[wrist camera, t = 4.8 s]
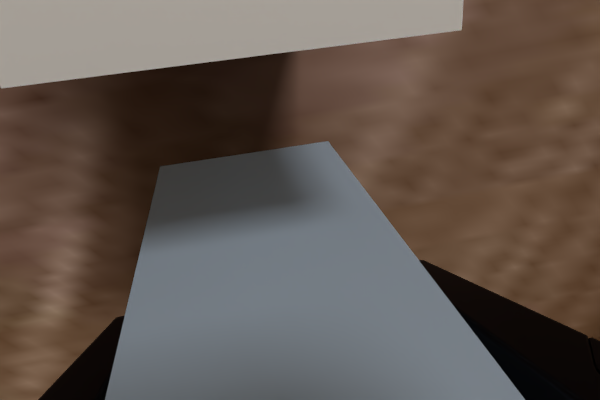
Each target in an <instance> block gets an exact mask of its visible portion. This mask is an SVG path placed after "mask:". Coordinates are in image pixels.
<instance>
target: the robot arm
mask: <svg viewBox="0 0 600 400" xmlns="http://www.w3.org/2000/svg"><path fill="white" fill-rule="evenodd" d="M419 261H420V263H421V264H422V265H423V266H424V268H425V269H426V270H427V272H428V273H429V274H430V276H431V277H432V278H433V280H434V281H435V282H436V283H437V285H438V286H439V287H440V289H441V290H442V291H443V293H444V294H445V295H446V297H447V298H448V299H449V301H450V302H451V303H452V304H453V306H454V307H455V308H456V310H457V311H458V312H459V314H460V315H461V316H462V318H463V319H464V320H465V321H466V323H467V324H468V325H469V327H470V328H471V329H472V331H473V332H474V333H475V335H476V336H477V337H478V339H479V340H480V341H481V342H482V344H483V345H484V346H485V348H486V349H487V350H488V352H489V353H490V354H491V356H492V357H493V358H494V359H495V361H496V362H497V363H498V365H499V366H500V367H501V369H502V370H503V371H504V373H505V374H506V375H507V377H508V378H509V379H510V380H511V382H512V383H513V384H514V386H515V387H516V388H517V390H518V391H519V392H520V394H521V395H522V396H523V397H524V399H525V400H600V341H598V340H596V339H594V338H589V339H588V337H587V335H585V334H583V333H581V332H578V331H576V330H574V329H572V328H570V327H568V326H565V325H563V324H561V323H559V322H557V321H554V320H552V319H550V318H548V317H546V316H544V315H541V314H539V313H537V312H535V311H533V310H531V309H528V308H526V307H524V306H522V305H520V304H518V303H515V302H513V301H511V300H509V299H507V298H504V297H502V296H500V295H498V294H496V293H494V292H491V291H489V290H487V289H485V288H483V287H481V286H478V285H476V284H474V283H472V282H470V281H468V280H465V279H463V278H461V277H459V276H457V275H454V274H452V273H450V272H448V271H446V270H444V269H441V268H439V267H437V266H435V265H433V264H431V263H428V262H426V261H424V260H419ZM124 317H125V316H120V317H117V318H116V319H114V320H113V321H112V322H111V324H110V325H109V326H108V327H107V328H106V329H105V330H104V331H103V332H102V333H101V334H100V335H99V336H98V337H97V338H96V339H95V340H94V341H93V343H92V344H91V345H90V346H89V347H88V348H87V349H86V350H85V351H84V352H83V353H82V354H81V355H80V356H79V357H78V358H77V359H76V360H75V361H74V363H73V364H72V365H71V366H70V367H69V368H68V369H67V370H66V371H65V372H64V373H63V374H62V375H61V376H60V377H59V378H58V379H57V380H56V382H55V383H54V384H53V385H52V386H51V387H50V388H49V389H48V390H47V391H46V392H45V393H44V394H43V395H42V396H41V397H40V398H39V399H38V400H105V397H106V393H107V389H108V385H109V380H110V376H111V372H112V368H113V363H114V359H115V355H116V351H117V347H118V342H119V338H120V334H121V330H122V325H123V321H124Z"/></svg>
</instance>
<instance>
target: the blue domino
mask: <svg viewBox="0 0 600 400" xmlns="http://www.w3.org/2000/svg"><path fill="white" fill-rule="evenodd" d="M105 400H525V399H524V397H523V396H522V395H521V394H520V392H519V391H518V390H517V388H516V387H515V386H514V384H513V383H512V382H511V380H510V379H509V378H508V377H507V375H506V374H505V373H504V371H503V370H502V369H501V367H500V366H499V365H498V363H497V362H496V361H495V359H494V358H493V357H492V356H491V354H490V353H489V352H488V350H487V349H486V348H485V346H484V345H483V344H482V342H481V341H480V340H479V339H478V337H477V336H476V335H475V333H474V332H473V331H472V329H471V328H470V327H469V325H468V324H467V323H466V321H465V320H464V319H463V318H462V316H461V315H460V314H459V312H458V311H457V310H456V308H455V307H454V306H453V304H452V303H451V302H450V301H449V299H448V298H447V297H446V295H445V294H444V293H443V291H442V290H441V289H440V287H439V286H438V285H437V283H436V282H435V281H434V280H433V278H432V277H431V276H430V274H429V273H428V272H427V270H426V269H425V268H424V266H423V265H422V264H421V263H420V261H419V260H418V259H417V257H416V256H415V255H414V253H413V252H412V251H411V249H410V248H409V247H408V245H407V244H406V243H405V242H404V240H403V239H402V238H401V236H400V235H399V234H398V232H397V231H396V230H395V228H394V227H393V226H392V225H391V223H390V222H389V221H388V219H387V218H386V217H385V215H384V214H383V213H382V211H381V210H380V209H379V207H378V206H377V205H376V204H375V202H374V201H373V200H372V198H371V197H370V196H369V194H368V193H367V192H366V190H365V189H364V188H363V187H362V185H361V184H360V183H359V181H358V180H357V179H356V177H355V176H354V175H353V173H352V172H351V171H350V169H349V168H348V167H347V166H346V164H345V163H344V162H343V160H342V159H341V158H340V156H339V155H338V154H337V152H336V151H335V150H334V149H333V147H332V146H331V145H330V143H329V142H328V141H326V142H319V143H313V144H306V145H299V146H293V147H286V148H280V149H273V150H266V151H260V152H253V153H246V154H240V155H233V156H226V157H220V158H213V159H206V160H200V161H193V162H187V163H180V164H173V165H167V166H160V169H159V173H158V177H157V182H156V186H155V190H154V194H153V199H152V203H151V207H150V211H149V216H148V220H147V224H146V228H145V232H144V237H143V241H142V245H141V249H140V254H139V258H138V262H137V266H136V270H135V275H134V279H133V283H132V287H131V292H130V296H129V300H128V304H127V309H126V313H125V317H124V321H123V325H122V330H121V334H120V338H119V342H118V347H117V351H116V355H115V359H114V363H113V368H112V372H111V376H110V380H109V385H108V389H107V393H106V397H105Z"/></svg>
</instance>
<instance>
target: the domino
mask: <svg viewBox="0 0 600 400" xmlns="http://www.w3.org/2000/svg"><path fill="white" fill-rule="evenodd" d="M462 17H463V0H0V87H1V88H8V87H16V86H24V85H32V84H40V83H48V82H56V81H64V80H71V79H79V78H87V77H95V76H103V75H111V74H119V73H127V72H135V71H143V70H151V69H158V68H166V67H174V66H182V65H190V64H198V63H206V62H214V61H222V60H230V59H237V58H245V57H253V56H261V55H269V54H277V53H285V52H293V51H301V50H309V49H316V48H324V47H332V46H340V45H348V44H356V43H364V42H372V41H380V40H388V39H395V38H403V37H411V36H419V35H427V34H435V33H443V32H451V31H459V30H462Z"/></svg>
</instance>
